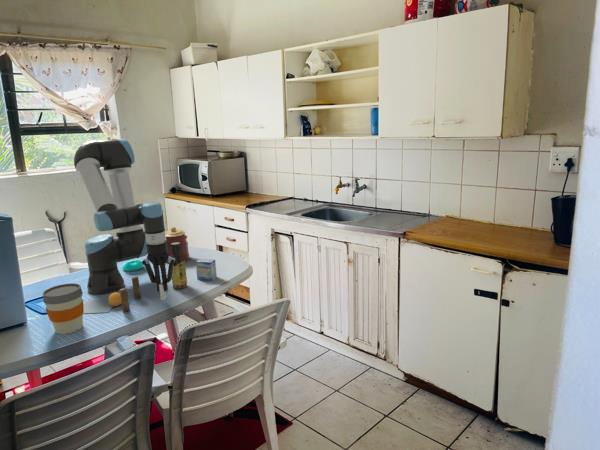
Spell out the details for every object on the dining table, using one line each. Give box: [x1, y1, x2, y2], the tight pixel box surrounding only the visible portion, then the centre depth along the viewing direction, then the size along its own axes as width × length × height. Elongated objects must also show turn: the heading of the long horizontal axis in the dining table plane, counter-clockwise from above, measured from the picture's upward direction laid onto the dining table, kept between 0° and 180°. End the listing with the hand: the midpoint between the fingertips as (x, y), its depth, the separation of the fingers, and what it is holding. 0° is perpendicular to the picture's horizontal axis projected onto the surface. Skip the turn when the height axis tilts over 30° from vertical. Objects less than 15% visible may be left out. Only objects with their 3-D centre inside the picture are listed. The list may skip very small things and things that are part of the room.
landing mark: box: [83, 297, 115, 315], centre depth 180 cm, size 14×14×1 cm
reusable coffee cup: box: [42, 283, 84, 335], centre depth 160 cm, size 13×12×15 cm
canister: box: [165, 226, 190, 264], centre depth 232 cm, size 13×13×18 cm
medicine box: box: [195, 258, 218, 281], centre depth 204 cm, size 8×4×9 cm, turn 76°
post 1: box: [119, 287, 131, 314], centre depth 173 cm, size 3×3×9 cm
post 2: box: [131, 276, 142, 300], centre depth 185 cm, size 3×3×9 cm
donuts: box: [122, 259, 144, 272], centre depth 223 cm, size 10×10×10 cm
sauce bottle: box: [171, 242, 188, 290], centre depth 194 cm, size 7×6×20 cm
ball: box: [108, 291, 122, 307], centre depth 179 cm, size 6×6×6 cm
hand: (163, 298), depth 179 cm, fingers closed
